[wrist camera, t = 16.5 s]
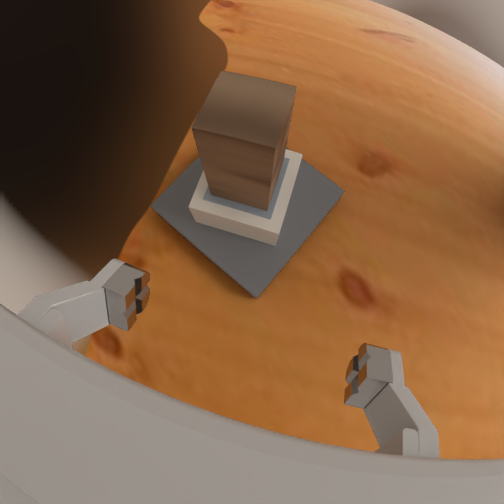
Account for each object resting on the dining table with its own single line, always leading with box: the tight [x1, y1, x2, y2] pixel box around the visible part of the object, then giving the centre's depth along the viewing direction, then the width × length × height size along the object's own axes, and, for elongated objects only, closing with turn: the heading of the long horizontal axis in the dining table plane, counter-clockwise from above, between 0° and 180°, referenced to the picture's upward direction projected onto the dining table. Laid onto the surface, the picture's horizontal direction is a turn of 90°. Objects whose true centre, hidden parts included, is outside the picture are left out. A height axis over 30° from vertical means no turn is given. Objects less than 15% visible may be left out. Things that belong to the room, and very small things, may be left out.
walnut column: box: [192, 71, 297, 211], centre depth 23 cm, size 5×5×10 cm
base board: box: [151, 148, 345, 299], centre depth 30 cm, size 14×14×6 cm
